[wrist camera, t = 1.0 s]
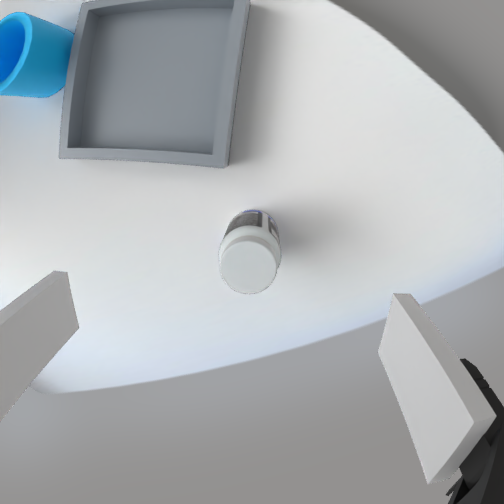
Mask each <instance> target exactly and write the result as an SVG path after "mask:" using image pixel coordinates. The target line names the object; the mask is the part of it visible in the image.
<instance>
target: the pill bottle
mask: <svg viewBox="0 0 504 504" xmlns="http://www.w3.org/2000/svg"><path fill="white" fill-rule="evenodd" d="M219 261H220V273H221V276H222V279H223V280H224V282H225V283H226V284H227V285H228V286H229V287H230V288H231V289H233V290H234V291H237V292H239V293H243V294H255V293H259V292H261V291H263V290H265V289H266V288H267V287H269V286H270V285H271V283H272V282H273V280H274V279H275V276H276V273H277V269H278V267H279V265H280V261H281V249H280V243H279V235H278V229H277V226H276V223H275V222H274V220H273V219H272V218H271V217H270V216H269V215H267V214H266V213H264V212H262V211H259V210H246V211H243V212H241V213H239V214H237V215H236V216H235V217H234V218H233V219H232V220H231V222H230V224H229V226H228V229H227V231H226V233H225V235H224V238H223V240H222V243H221V245H220V249H219Z"/></svg>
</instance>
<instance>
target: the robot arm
mask: <svg viewBox="0 0 504 504" xmlns="http://www.w3.org/2000/svg"><path fill="white" fill-rule="evenodd" d="M78 329H79V325H78V321H77V317H76V312H75V308H74V304H73V299H72V294H71V289H70V284H69V279H68V274H67V272H60V271H53V272H52V273H50V274H49V275H48V276H46V277H45V278H43V279H42V280H41V281H39V282H38V283H37V284H35V285H34V286H32V287H31V288H30V289H28V290H27V291H26V292H24V293H23V294H22V295H20V296H19V297H18V298H16V299H15V300H14V301H12V302H11V303H10V304H9V305H7V306H6V307H5V308H3V309H2V310H1V311H0V422H1V420H2V419H3V418H4V416H5V415H6V414H7V413H8V411H9V410H10V409H11V407H12V406H13V405H14V404H15V402H16V401H17V400H18V399H19V397H20V396H21V395H22V394H23V393H24V391H25V390H26V389H27V388H28V386H29V385H30V384H31V383H32V382H33V380H34V379H35V378H36V377H37V376H38V374H39V373H40V372H41V371H42V370H43V368H44V367H45V366H46V365H47V364H48V363H49V361H50V360H51V359H52V358H53V357H54V356H55V354H56V353H57V352H58V351H59V350H60V349H61V348H62V347H63V345H64V344H65V343H66V342H67V341H68V340H69V339H70V338H71V336H72V335H73V334H74V333H75V332H76V331H77V330H78ZM378 354H379V356H380V359H381V361H382V363H383V366H384V368H385V370H386V373H387V375H388V378H389V380H390V382H391V385H392V387H393V390H394V392H395V395H396V397H397V400H398V403H399V405H400V408H401V410H402V413H403V415H404V418H405V421H406V423H407V426H408V429H409V431H410V434H411V437H412V440H413V442H414V445H415V448H416V451H417V454H418V456H419V459H420V462H421V465H422V468H423V471H424V474H425V477H426V480H427V484H431V483H435V482H439V481H443V480H446V479H449V478H450V477H451V476H452V475H453V474H454V473H455V472H456V470H457V469H458V468H460V470H461V472H462V476H461V478H460V479H459V480H458V481H457V482H456V483H455V484H454V485H453V486H452V488H451V489H449V491H448V492H447V494H446V495H447V496H449V494H451V493H452V492H453V494H452V496H451V498H450V501H449V503H448V504H504V407H503V405H502V404H501V402H500V401H499V399H498V398H497V396H496V395H495V393H494V392H493V390H492V389H491V388H489V384H488V383H487V382H486V380H484V379H483V376H482V374H481V373H480V372H479V370H478V369H477V367H476V366H474V365H473V364H472V363H470V362H469V361H467V360H466V359H459V358H458V357H457V355H456V354H455V352H454V351H453V349H452V348H451V347H450V345H449V344H448V342H447V341H446V340H445V338H444V337H443V336H442V334H441V333H440V332H439V330H438V329H437V327H436V326H435V325H434V323H433V322H432V321H431V320H430V318H429V317H428V316H427V314H426V313H425V312H424V310H423V309H422V308H421V307H420V305H419V304H418V303H417V301H416V300H415V299H414V298H413V296H412V295H411V294H393V297H392V301H391V305H390V309H389V313H388V317H387V321H386V325H385V328H384V332H383V336H382V339H381V343H380V347H379V350H378Z"/></svg>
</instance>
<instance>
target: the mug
mask: <svg viewBox="0 0 504 504" xmlns="http://www.w3.org/2000/svg"><path fill="white" fill-rule="evenodd" d="M73 39H74V34H73V33H72V32H70V31H69V30H67V29H64V28H62V27H60V26H57V25H55V24H52V23H50V22H47V21H45V20H42V19H40V18H37V17H35V16H32V15H29V14H26V13H23V12H15V13H12V14H9V15H7V16H6V17H5V18H3V19H2V20H1V21H0V95H6V96H24V97H38V98H42V97H49V96H51V95H53V94H55V93H57V92H58V91H59V90H60V89H61V88H63V87H64V86H65V84H66V77H67V70H68V65H69V59H70V54H71V48H72V43H73Z"/></svg>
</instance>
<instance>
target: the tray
mask: <svg viewBox="0 0 504 504" xmlns="http://www.w3.org/2000/svg"><path fill="white" fill-rule="evenodd" d="M249 8H250V0H95V1H90V2H86V3H82V6H81V10H80V13H79V17H78V21H77V26H76V30H75V34H74V39H73V43H72V48H71V54H70V59H69V65H68V70H67V77H66V84H65V91H64V99H63V108H62V118H61V130H60V145H59V159H101V160H124V161H142V162H158V163H171V164H183V165H194V166H205V167H215V168H225V167H227V166H228V161H229V153H230V144H231V136H232V128H233V120H234V112H235V105H236V97H237V90H238V82H239V75H240V68H241V61H242V54H243V47H244V41H245V34H246V27H247V21H248V15H249Z"/></svg>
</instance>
